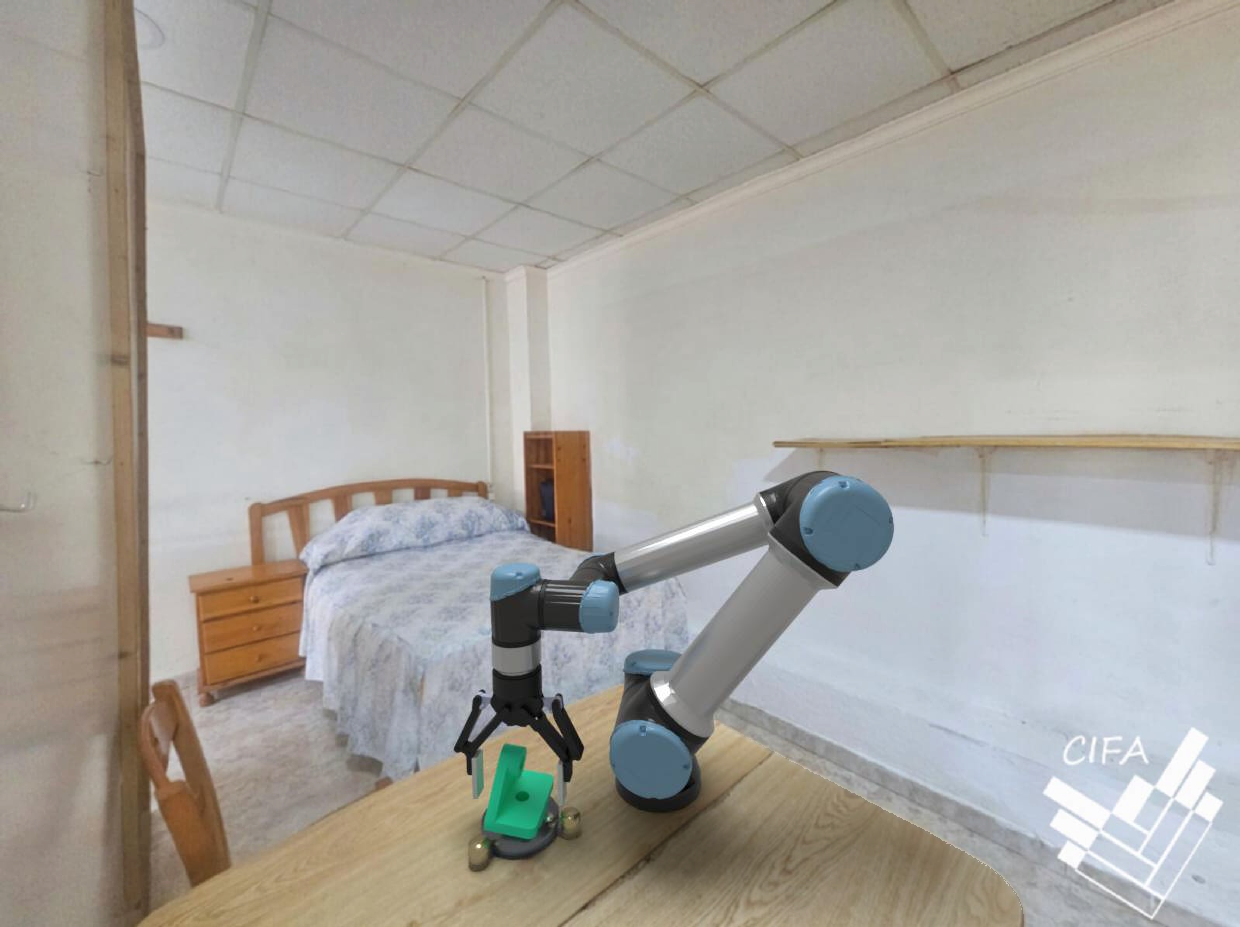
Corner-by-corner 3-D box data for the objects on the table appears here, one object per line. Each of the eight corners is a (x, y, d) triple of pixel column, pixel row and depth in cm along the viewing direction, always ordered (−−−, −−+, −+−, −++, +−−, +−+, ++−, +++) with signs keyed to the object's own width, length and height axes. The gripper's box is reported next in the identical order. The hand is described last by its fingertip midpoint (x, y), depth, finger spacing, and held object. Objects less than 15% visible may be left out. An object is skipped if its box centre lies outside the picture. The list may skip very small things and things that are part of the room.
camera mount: (533, 847, 75) (540, 780, 74) (482, 836, 76) (489, 770, 75) (553, 789, 87) (559, 732, 86) (510, 781, 88) (515, 723, 87)
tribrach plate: (589, 794, 89) (589, 778, 89) (568, 880, 72) (568, 859, 72) (502, 788, 91) (501, 771, 90) (461, 869, 74) (461, 850, 74)
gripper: (600, 657, 82) (602, 785, 83) (450, 651, 85) (454, 774, 86) (592, 680, 74) (594, 820, 76) (428, 672, 77) (433, 807, 79)
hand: (520, 796), depth 81 cm, fingers open, 13 cm apart
